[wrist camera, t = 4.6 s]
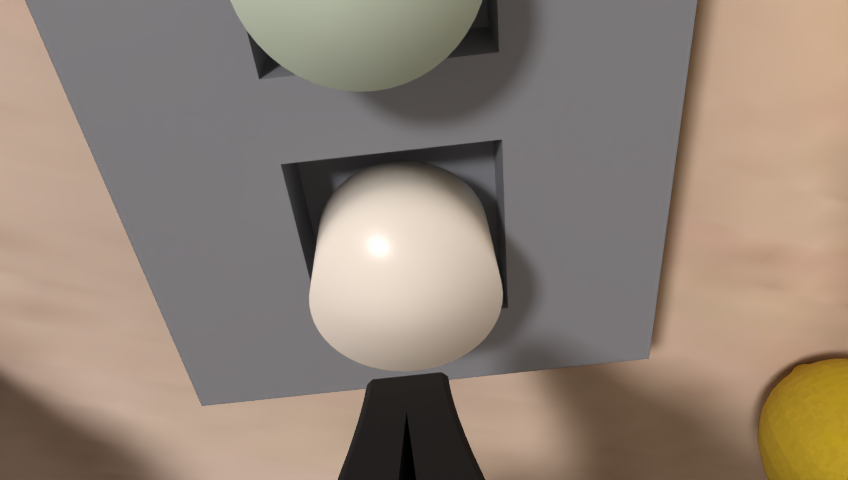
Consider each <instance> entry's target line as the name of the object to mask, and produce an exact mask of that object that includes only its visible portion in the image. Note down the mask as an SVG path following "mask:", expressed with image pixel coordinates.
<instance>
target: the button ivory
mask: <svg viewBox="0 0 848 480" xmlns="http://www.w3.org/2000/svg"><path fill="white" fill-rule="evenodd" d="M502 300H503V290H502V283H501V278H500V274H499V270H498V265H497V261H496V257H495V252H494V248H493V244H492V239H491V235H490V231H489V226H488V222H487V218H486V214H485V211H484V208H483V206H482V204H481V202H480V199H479V198H478V197H477V195H476V194H475V192H474V191H473V190H472V189H471V188H470V187H469V185H468V184H467V183H465V182H464V181H463V180H462V179H460V178H459V177H458V176H456V175H455V174H453V173H451V172H450V171H447V170H445V169H443V168H441V167H438V166H435V165H432V164H429V163H423V162H418V161H392V162H386V163H381V164H377V165H374V166H371V167H368V168H366V169H364V170H361V171H359V172H357V173H356V174H354V175H352V176H351V177H349V178H348V179H347V180H345V181H344V182H343V183H342V184H341V185H340V186H339V187H338V188H337V189H336V190H335V191H334V192H333V193H332V195H331V196H330V198H329V199H328V201H327V203H326V204H325V206H324V208H323V211H322V214H321V218H320V223H319V230H318V237H317V244H316V251H315V258H314V264H313V271H312V278H311V285H310V292H309V306H310V311H311V315H312V318H313V321H314V323H315V325H316V327H317V329H318V331H319V332H320V334H321V335H322V336H323V338H324V339H325V340H326V341H327V342H328V343H329V344H330V345H331V346H332V347H333V348H334V349H336V350H337V351H338V352H340V353H341V354H343V355H344V356H346V357H348V358H349V359H351V360H354V361H356V362H358V363H360V364H363V365H366V366H369V367H373V368H377V369H382V370H389V371H418V370H425V369H430V368H434V367H438V366H441V365H444V364H447V363H450V362H452V361H454V360H456V359H458V358H460V357H462V356H464V355H465V354H467V353H469V352H470V351H471V350H473V349H474V348H475V347H476V346H478V345H479V344H480V343H481V342H482V341H483V340H484V339H485V338H486V337H487V335H488V334H489V333H490V331H491V330H492V329H493V327H494V325H495V323H496V322H497V319H498V317H499V314H500V311H501V307H502Z"/></svg>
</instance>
